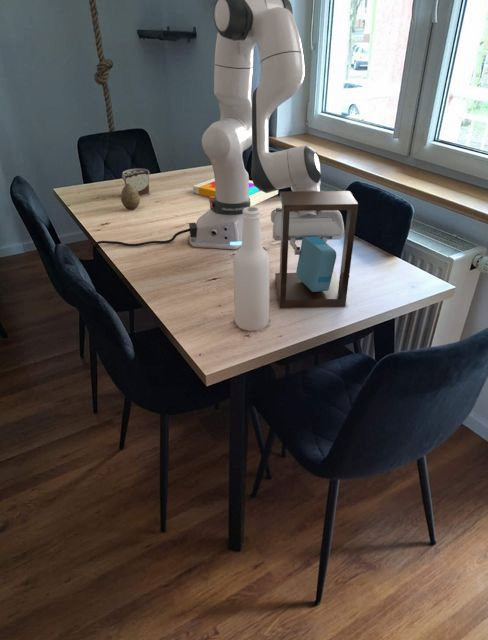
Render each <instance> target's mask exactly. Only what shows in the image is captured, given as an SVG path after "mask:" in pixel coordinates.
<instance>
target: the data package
mask: <svg viewBox="0 0 488 640" xmlns="http://www.w3.org/2000/svg"><path fill="white" fill-rule="evenodd" d="M336 260H337V251H336V250H335V249H334V248H333V247H332V246H330V245H329V244H328V243H327V242H326V243H325V242H324V241H323V240H322V239H320V238H319V237H304V238H303V240H301V244H300V255H298V261H297V266H296V270H295V271H296V272H295V273H296V274H297V277H298V278H299V279H300V280H301V281H302V282H303V283H304V284H305V285H306V286H307V287H308V288H309V289H310V290H311V291H312V292H321V291H328V289H329V286H330V282H331V278H332V274H333V272H334V269H335V264H336V262H337V261H336Z"/></svg>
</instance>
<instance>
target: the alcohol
mask: <svg viewBox="0 0 488 640" xmlns="http://www.w3.org/2000/svg"><path fill="white" fill-rule="evenodd" d="M232 269H233V270H232V272H233V303H234V305H233V307H234V309H233V310H234V322H235V324H236V325H237V327H238V328H240V329H242V330H244V331H248V332H256V331H260V330H262V329H264V328H265V327H266V326H267V325H268V323H269V321H270V283H271V282H270V281H271V280H270V279H271V278H270V277H271V274H270V273H271V260H270V255H269V253H268V251H267V250H266V249H265V248H264V247H263V244H262V231H261V209H259V207H256V206H251V207H246V208H244V209H243V230H242V244H241V246H240V247H239V248H238V249H237V250H236V252H235V253H234V256H233V261H232Z"/></svg>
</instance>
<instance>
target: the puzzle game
mask: <svg viewBox="0 0 488 640" xmlns="http://www.w3.org/2000/svg"><path fill="white" fill-rule="evenodd" d="M192 187H193V193H194V194H196V195H201V196H205V197H208V198H209V197H210V196H214V197H216V190H215V177H214V178H210V179H208V180H206V181H205V180H204V181H203V182H200V183H197V184H195V185H192ZM278 194H279V189H278V190H276V191H272V192H269V193H265V192H263V191H261V190H259V189H258V188H257V187H255V186H254V184H253V180H250V179H249V198H250V202H251V207H254V206H256V205H257V204H260V203H262V202H264V201H266V200H268V199H271V198H272V197H275V196H277V195H278Z"/></svg>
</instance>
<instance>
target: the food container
mask: <svg viewBox="0 0 488 640" xmlns="http://www.w3.org/2000/svg"><path fill="white" fill-rule="evenodd" d="M150 176H151V172H150V170H149V169H148V168H130V169H126V170H123V171H122V174H121V179H122V180H123V181H124V186H125V185H126V184H131V185H132V186H133V187H134V188H135V189H136V190H137V192H138V194H139V197H140V198H141V197H144V196H148V195H150Z"/></svg>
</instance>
